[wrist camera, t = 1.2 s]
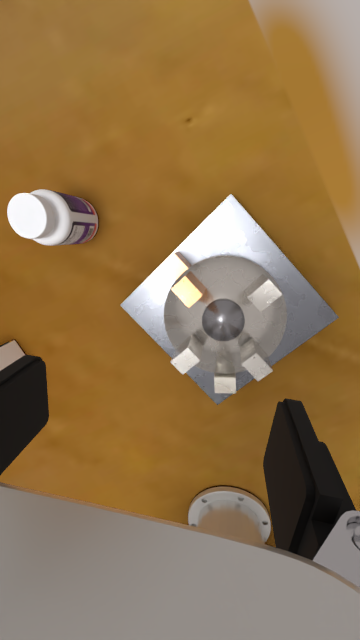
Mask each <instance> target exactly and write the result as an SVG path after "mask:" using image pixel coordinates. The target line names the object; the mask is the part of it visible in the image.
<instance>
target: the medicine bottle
mask: <svg viewBox="0 0 360 640" xmlns="http://www.w3.org/2000/svg"><path fill="white" fill-rule="evenodd" d="M24 355H25V354H24V352H23V351H22V350H21V348H20V347H19V345H18V344H17V342H16V341H15V340H11V341H9V342H7V343H5V344H3V345H1V346H0V371H1V370H2V369H4V368H5V367H7V366H8V365H10V364H12V363H13V362H15V361H16V360H18V359H19V358H21V357H22V356H24Z"/></svg>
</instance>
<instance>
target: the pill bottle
mask: <svg viewBox="0 0 360 640" xmlns="http://www.w3.org/2000/svg"><path fill="white" fill-rule="evenodd" d="M7 214H8V220H9V223H10V225H11V227H12V228H13V229H14V231H15V232H16V233H17V234H19V235H20V236H22V237H24V238H29V239H33V240H35V241H36V242H38V243H40V244H43V245H66V244H80V243H85V242H88V241H89V240H91V239H92V238H93V237H94V236H95V234H96V232H97V229H98V217H97V214H96V211H95V209H94V208H93V206H92V205H91V204H90V203H89V202H87V201H86V200H84V199H82V198H79V197H75V196H71V195H67V194H63V193H59V192H55V191H51V190H44V189H40V190H35V191H33V192H31V193H30V194H29V193H20V194H17V195H15V196H14V197H13V198H12V199H11V200H10V202H9V205H8V210H7Z"/></svg>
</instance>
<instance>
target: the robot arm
mask: <svg viewBox="0 0 360 640" xmlns="http://www.w3.org/2000/svg"><path fill="white" fill-rule="evenodd" d="M48 418H49V410H48V395H47V380H46V365H45V362H44V361H42V359H41V358H40V357H37V356H31V355H24V356H22V357H21V358H19V359H18V360H16V361H15V362H13V363H12V364H10V365H8V366H7V367H5V368H4V369H2V370H1V371H0V475H1V474H2V472H3V471H4V470H5V469H6V468H7V467H8V466H9V465H10V464H11V463H12V461H13V460H14V459H15V458H16V457H17V456H18V455H19V454H20V453H21V451H22V450H23V449H24V448H25V447H26V446H27V445H28V444H29V443H30V441H31V440H32V439H33V438H34V437H35V436H36V435H37V434H38V433H39V432H40V430H41V429H42V428H43V427H44V426H45V425H46V423H47V421H48ZM263 467H264V474H265V480H266V487H267V493H268V499H269V506H270V512H271V519H272V525H273V531H274V538H275V544H276V548H275V547H272V546H269V545H265V542H266V541H267V539H268V537H269V535H270V531H271V522H270V516H269V513H268V511H267V509H266V507H265V506H264V504H263V503H262V502H261V501H260V500H259V499H258V498H256V497H255V496H253V495H252V494H250V493H248V492H246V491H244V490H241V489H238V488H234V487H214V488H210V489H207V490H205V491H203V492H201V493H199V494H198V495H197V496H196V497H195V498H194V499H193V501H192V502H191V504H190V507H189V513H188V523H189V525H185V524H181V523H177V522H172V521H168V520H164V519H160V518H155V517H151V516H147V515H142V514H138V513H134V512H130V511H125V510H121V509H116V508H112V507H108V506H103V505H99V504H94V503H90V502H86V501H81V500H77V499H72V498H68V497H63V496H59V495H54V494H50V493H46V492H41V491H37V490H32V489H27V488H23V487H18V486H14V485H9V484H5V483H0V640H360V511H356V509H355V507H354V505H353V503H352V500H351V498H350V496H349V494H348V492H347V489H346V487H345V485H344V483H343V481H342V479H341V476H340V474H339V472H338V470H337V468H336V465H335V463H334V461H333V459H332V457H331V454H330V452H329V450H328V448H327V446H326V445H325V443H323V442H319V441H318V438H317V436H316V434H315V432H314V429H313V427H312V425H311V422H310V420H309V418H308V415H307V413H306V411H305V408H304V406H303V404H302V402H301V401H297V400H291V399H284V401H283V402H278V404H277V408H276V412H275V416H274V420H273V424H272V428H271V432H270V436H269V440H268V444H267V448H266V452H265V456H264V463H263Z"/></svg>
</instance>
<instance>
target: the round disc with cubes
mask: <svg viewBox="0 0 360 640" xmlns="http://www.w3.org/2000/svg"><path fill="white" fill-rule="evenodd" d="M162 266H163V267H164V268H165V269H166V270H167V271H168V272H169V273H170V274H171V275H172V277H173V278H174V279H175V280H176V281H175V282H174V284H173V285H172V287H171V289H170V290H169V292H168V295H167V298H166V301H165V306H164V324H165V329H166V332H167V335H168V338H169V340H170V342H171V344H172V345H173V347H174V348H175V350H176V351H175V353H174V355H173V357H172V360H171V363H172V364H173V365H174V366H175V367H176V368H177V369H178V370H179V371H180V372H181V373H182V374H184V373H186V372H187V371H188V370H189V369H190V368H192V367H193V366H196V367H198V368H200V369H202V370H205V371H209V372H212V373H219V374H231V373H238V372H243V371H245V370H248V371H249V373H250V374H251V375H252V376H253V377H254V378H255V379H256V380H257V381H259V380H261V379H262V378H264V377H265V376H266V375H268V374H269V373H271V372H272V371H273V369H272V366H271V363H270V360H269V356H270V355H271V354H272V353H273V352H274V351H275V349H276V348H277V346H278V345H279V343H280V341H281V339H282V337H283V334H284V331H285V328H286V323H287V309H286V303H285V299H284V296H283V294H282V291H281V289H280V287H279V286H278V284H277V283H276V281H275V280H274V279H273V277H272V276H271V275H270V274H269V273H268V272H266V271H265V270H264V269H263V268H262V267H260V266H259V265H258V264H256V263H255V262H253V261H251V260H249V259H246V258H243V257H240V256H235V255H216V256H211V257H208V258H205V259H202V260H200V261H198V262H196V263H195V264H193V265H192V266H191V264H190V263H189V262H188V261H187V260H186V259H185V258H184V257H183V256H182V255H181V254H180V252H179V251H178V252H175V253H173V254H172V255H171V256H170V257H169V258H168V259H167V260H166V261H165V262H164V263H163V264H162Z"/></svg>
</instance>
